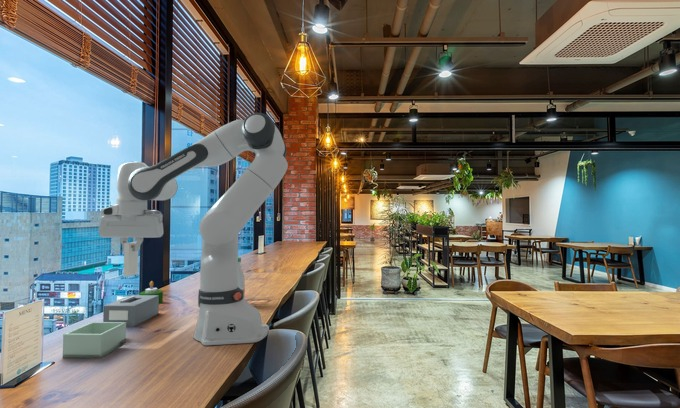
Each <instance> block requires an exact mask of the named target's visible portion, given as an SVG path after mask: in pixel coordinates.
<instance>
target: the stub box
mask: <svg viewBox="0 0 680 408" xmlns="http://www.w3.org/2000/svg"><path fill="white" fill-rule="evenodd" d="M126 338H127V326H126V322H103V321H92V322H91V321H90V322H89V323H87V324H84V325H82V326H79V327H77V328H75V329H72V330H71V331H67V332H66V333H64V334H62V358H66V359H67V358H69V359H71V358H72V359H102V358H103V357H105V356H107V355H108V354H110V353H112V352H113V351H115V350H117V349H118V348H120V347H122V346H124V345H126V341H124V340H125V339H126Z"/></svg>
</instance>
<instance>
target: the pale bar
mask: <svg viewBox="0 0 680 408" xmlns="http://www.w3.org/2000/svg"><path fill="white" fill-rule="evenodd" d="M136 242H137V241H131V242H127V243H124V251H123V277H124V278H130V277H133V276H137V275H139V251H132V246H135V244H136Z"/></svg>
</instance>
